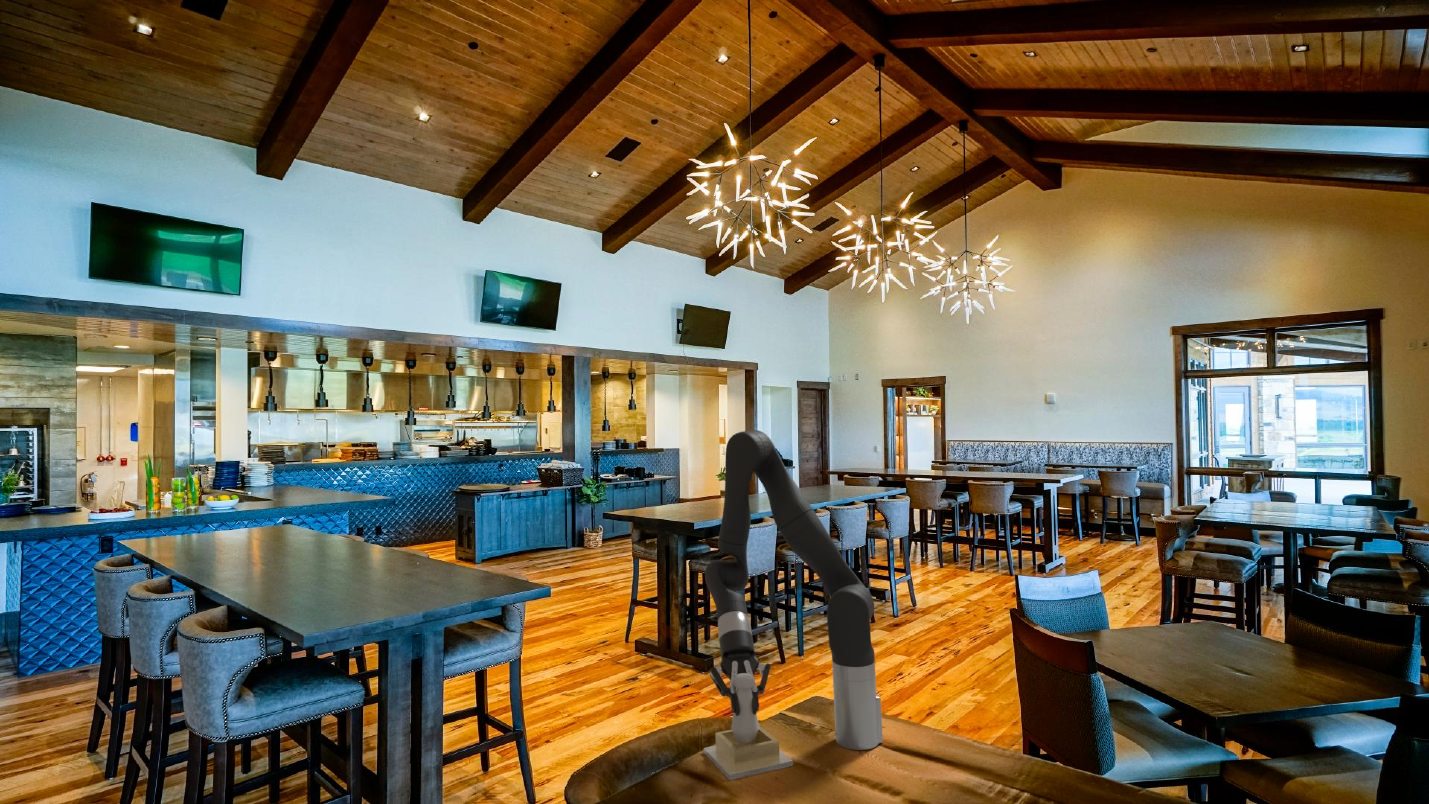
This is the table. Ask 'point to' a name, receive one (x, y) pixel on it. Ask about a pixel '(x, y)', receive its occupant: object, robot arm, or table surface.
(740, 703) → the salt shaker
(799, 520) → the robot arm
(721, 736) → the beige square open box
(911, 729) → the table surface
